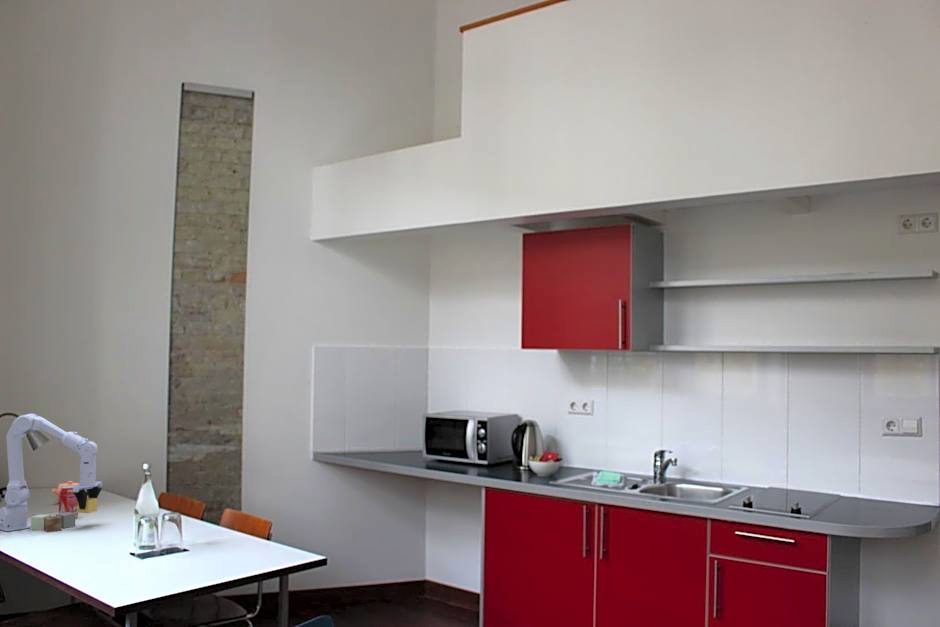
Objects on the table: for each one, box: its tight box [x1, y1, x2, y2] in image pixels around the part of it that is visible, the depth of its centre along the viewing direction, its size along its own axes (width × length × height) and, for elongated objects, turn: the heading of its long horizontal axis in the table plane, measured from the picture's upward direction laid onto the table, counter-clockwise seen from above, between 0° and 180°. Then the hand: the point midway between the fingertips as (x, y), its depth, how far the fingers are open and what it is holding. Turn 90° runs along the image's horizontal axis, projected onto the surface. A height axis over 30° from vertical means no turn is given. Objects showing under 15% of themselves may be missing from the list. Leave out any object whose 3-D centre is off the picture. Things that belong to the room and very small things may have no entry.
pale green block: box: [30, 514, 52, 531], centre depth 340 cm, size 5×5×5 cm
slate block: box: [55, 512, 76, 529], centre depth 344 cm, size 5×5×5 cm
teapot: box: [51, 480, 80, 502], centre depth 393 cm, size 12×12×10 cm
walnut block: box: [44, 515, 62, 533], centre depth 337 cm, size 5×5×5 cm
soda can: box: [58, 485, 79, 519], centre depth 359 cm, size 7×7×13 cm
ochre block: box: [77, 496, 98, 514], centre depth 344 cm, size 5×5×5 cm
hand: (87, 507), depth 344 cm, fingers closed on ochre block, 5 cm apart
